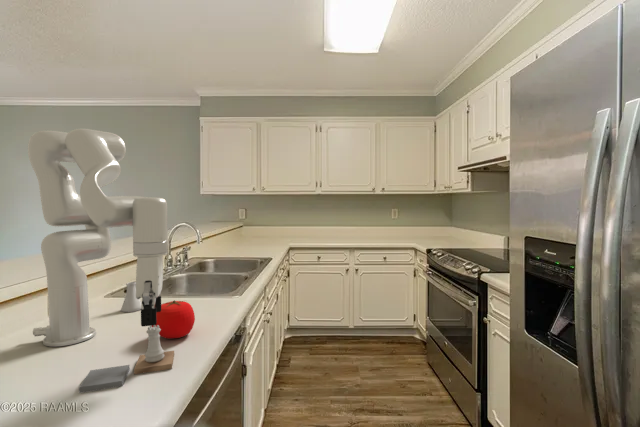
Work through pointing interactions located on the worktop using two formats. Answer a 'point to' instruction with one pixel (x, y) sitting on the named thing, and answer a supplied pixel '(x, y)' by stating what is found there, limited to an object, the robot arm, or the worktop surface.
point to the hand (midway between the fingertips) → (151, 318)
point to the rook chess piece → (154, 345)
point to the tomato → (175, 319)
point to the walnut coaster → (154, 364)
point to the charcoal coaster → (104, 378)
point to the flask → (131, 299)
